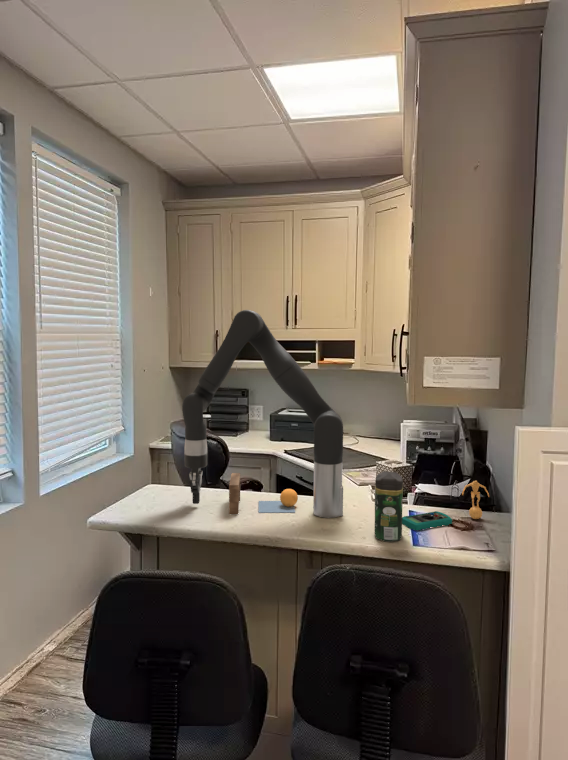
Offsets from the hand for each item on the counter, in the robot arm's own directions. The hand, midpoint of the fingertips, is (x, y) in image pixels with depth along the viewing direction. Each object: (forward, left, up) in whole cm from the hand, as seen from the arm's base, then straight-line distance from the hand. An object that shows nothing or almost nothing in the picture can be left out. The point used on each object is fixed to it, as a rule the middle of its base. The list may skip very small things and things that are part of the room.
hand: (196, 503), depth 174 cm
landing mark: (-27, 0, -2) cm, 27 cm away
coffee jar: (-58, +27, -2) cm, 64 cm away
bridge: (-13, 0, -2) cm, 13 cm away
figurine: (-90, +12, -2) cm, 91 cm away
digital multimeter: (-73, +17, -2) cm, 75 cm away
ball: (-31, 0, +2) cm, 31 cm away
